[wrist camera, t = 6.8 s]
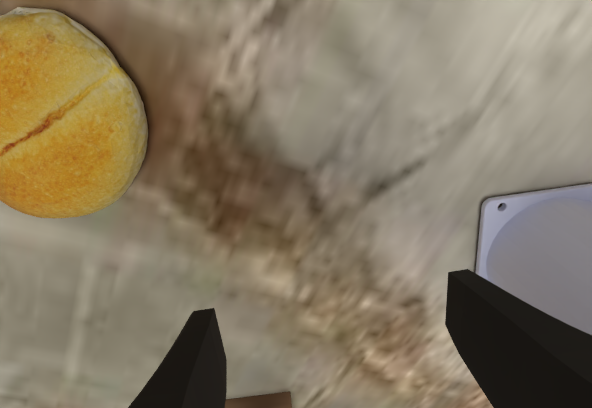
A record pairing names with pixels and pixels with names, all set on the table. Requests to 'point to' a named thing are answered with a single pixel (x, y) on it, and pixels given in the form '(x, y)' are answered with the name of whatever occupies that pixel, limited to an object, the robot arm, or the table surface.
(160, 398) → the robot arm
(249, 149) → the table surface
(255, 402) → the walnut block
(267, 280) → the table surface
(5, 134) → the bread roll
